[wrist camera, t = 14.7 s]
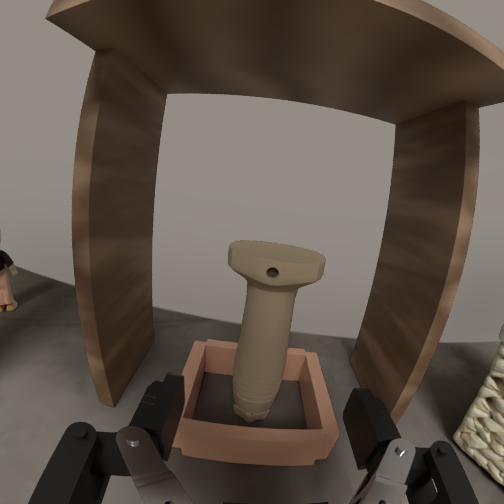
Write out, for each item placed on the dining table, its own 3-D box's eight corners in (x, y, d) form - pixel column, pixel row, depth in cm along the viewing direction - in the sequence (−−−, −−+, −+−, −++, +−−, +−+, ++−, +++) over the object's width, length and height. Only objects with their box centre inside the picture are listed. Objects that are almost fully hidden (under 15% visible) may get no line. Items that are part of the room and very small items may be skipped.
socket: (166, 451, 16) (162, 425, 15) (195, 363, 28) (196, 337, 27) (327, 464, 16) (341, 440, 15) (308, 374, 28) (315, 349, 27)
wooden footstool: (71, 447, 13) (54, -2, 6) (142, 339, 31) (156, 81, 24) (413, 475, 13) (530, 75, 6) (360, 361, 31) (407, 115, 24)
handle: (223, 388, 25) (238, 237, 21) (287, 400, 24) (322, 250, 20) (209, 421, 20) (220, 251, 16) (283, 436, 19) (329, 268, 16)
